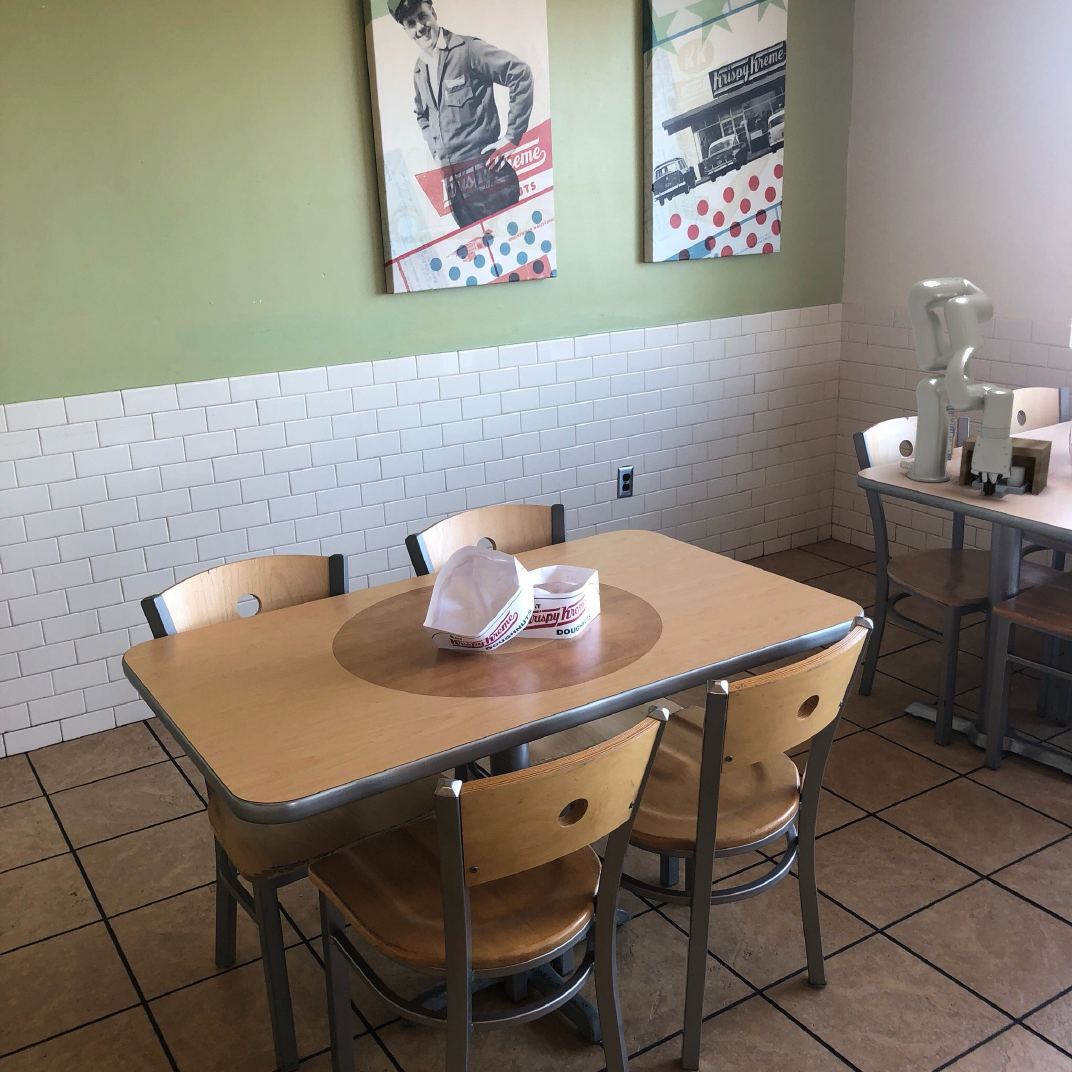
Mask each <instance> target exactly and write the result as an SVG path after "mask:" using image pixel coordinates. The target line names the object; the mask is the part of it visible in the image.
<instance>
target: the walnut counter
mask: <svg viewBox="0 0 1072 1072" xmlns="http://www.w3.org/2000/svg"><path fill="white" fill-rule="evenodd" d="M979 435H980V433H976V432H975V433H972V434H971V435H969V436H968V437H967V438H965V439H964V440H962V445H961V447H962V448H961V454H960V455H961V456H960V457H961V458H960V465H959V466H960V467H959V475H958V476H959V477H958V486H963V485H964V486H965V485H966V484H968V483H969V482H970V481H971V480H973V479H977V478H978V477H980V476H979V475H976V474H973V473H971V470H972V467H971V465H972V458H973V452H974V447H975V443H976V439H977V437H978V436H979ZM1010 437H1011V438H1012V448H1013V456H1012V465H1022V466H1025V474H1024V480H1025V481H1031V484H1030V486H1032V490H1031V495H1032V496H1038V495H1039V494H1040V493H1041V492H1042V491H1043V490H1044V489H1045V488H1046V487H1047V483H1048V478H1049V477H1048V475H1049V468H1050V460H1051V459H1050V458H1051V451H1052V443H1053V441H1052V440H1051V441H1050V440H1044V439H1043V440H1042V439H1033V438H1023V437H1013V436H1010ZM969 480H970V481H969ZM967 482H968V483H967ZM1044 487H1045V488H1044Z"/></svg>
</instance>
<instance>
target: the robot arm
mask: <svg viewBox="0 0 1072 1072" xmlns="http://www.w3.org/2000/svg"><path fill="white" fill-rule="evenodd" d="M935 308H943V315H944V320H945V324H946V329H947V333H948V337H946V336H945V332H944V331H945V330H944V324H943V321H942V319H941V318H940V316H939V315H938V313H937V312H936V311H935V310H934V309H935ZM906 309H907V313H908V317H909V320H910V322H911V326H912V331H913V339H914V345H915V348H914V349H915V353H916V361H917V365H918V366H919V367H918V368H919V369H921V371H925V372H939V371H945V374H935V375H930V376H927V377H925V378H922V379H921V380H919V382H918V384H917V386H916V390H915V395H916V396H915V397H916V404H917V420H916V432H915V433H916V434H915V443H914V457H913V460H912V461H909V462H908V461H906V460H901V461H900V463H899V467H900V468H901V469H904V470H909V471H907V478H909V479H910V480H914V481H917V482H924V483H943V482H948V481H950V480H951V479H952V476H951V474H950V473H949V472H947V464H948V460H947V455H948V444H949V434H950V417H949V415H948V413H947V411H946V408H945V407H946V406H952V407H953V408H954V409H955V410H956V411H957V412H960V413H967V412H968V413H969V412H974V411H975V412H976V411H982V417H981V418H982V420H981V425H979V426H976V427H975V432H978V433H979V434H980V435H979V436H978V437H977V439H976V443H975V447H974V452H973V458H972V465H971V467H972V470H971V473H973V474H976V475H979V476H980V477H981V479H982V480H983V482H984V486H983V492H985V497H991V496H992V495H993V493H995V489H996V482H997V481H998V480H1000V479H1001V478H1008V477H1010V476H1011V468H1012V456H1013V448H1012V438H1011V437H1012V436H1010V434H1011V427H1012V426H1011V425H1012V416H1013V408H1014V407H1013V406H1014V399H1015V393H1014V391H1013V390H1012V389H1010V388H1004V387H1000V386H998V385H995V384H992V383H976V384H975V376H974V370H973V368H974V367H973V361H972V356H975V355H977V354H978V353H979V352H981V351H982V350H983V349H984V346H985V344H984V340H983V336H982V331H981V326H980V324H985V323H988V322H990V321H991V320H992V318H993V317H994V314H995V307H994V303H993V300H992V299H991V297H990V296H989V295H988V294H987V293H986V292H984V291H983V290H982V289H981V288H979V287H978V286H977V285H976V284H974V283H973V282H971V281H969V280H968V279H967V278H964V277H959V276H955V277H953V276H952V277H939V278H938V277H937V278H936V277H935V278H934V277H933V278H927V279H923V280H920V281H918V282H916V283H915V284H913V285H912V286H911V288H910V290H909V291H908V294H907V299H906ZM989 473H993V477H992V480H991V481H990V478H989Z"/></svg>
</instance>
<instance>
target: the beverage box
mask: <svg viewBox="0 0 1072 1072" xmlns="http://www.w3.org/2000/svg"><path fill="white" fill-rule="evenodd" d="M945 408H946V411H947V413H948V415H949V417H950V434H949V444H948V455H947V461H952V458H953V454H954V449H955V438H956V430H957V429H956V427H957V420H958V419H957V417H958V411H956V410H955V409H954V408H953V407H952V406H946V407H945Z"/></svg>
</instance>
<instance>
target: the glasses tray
mask: <svg viewBox="0 0 1072 1072" xmlns="http://www.w3.org/2000/svg"><path fill="white" fill-rule="evenodd" d="M1024 474H1025V466H1022V465H1012V468H1011V476H1010V477H1008V478H1001V479H1000V480H998V481H997V482H996V489H995V493H993V495H992V496H990V497H991V498H999V499H1003V498H1004V497H1005V496H1006V495H1007V494H1010V495H1012V494H1013V495H1019V496H1022V495H1024V493H1025V492H1026V491H1028V489H1030V488H1031V485H1030V484H1031V481H1025V480H1024ZM992 477H993V473H989V478H990V481H991V480H992ZM983 486H984V482H983V480H982V479H981V477H978V478H975V480H974V481H972V483H971V489H972V488H975V489H974V490H980V489H981V490H980V492H979V493H980V494H979V496H983V495H984V496H985V492H983ZM985 497H986V496H985Z"/></svg>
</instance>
